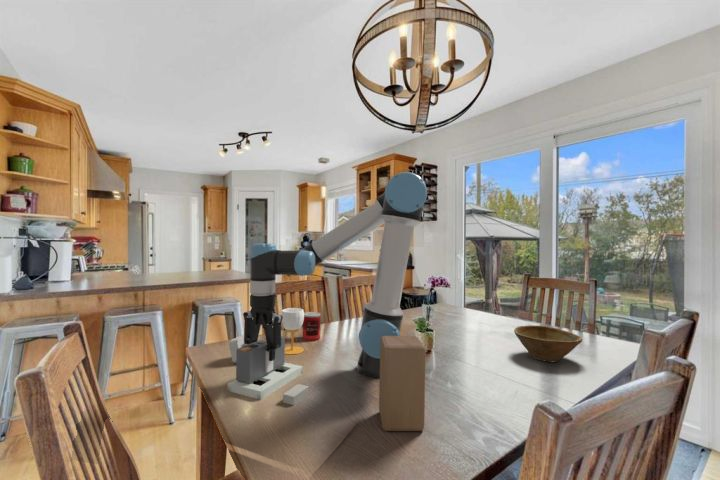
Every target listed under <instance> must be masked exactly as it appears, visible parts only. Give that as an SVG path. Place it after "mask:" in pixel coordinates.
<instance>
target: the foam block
mask: <svg viewBox="0 0 720 480" xmlns="http://www.w3.org/2000/svg"><path fill="white" fill-rule="evenodd" d="M309 388H310V387H309V386H308V385H304V384H300V383H297V384H296V385H294V386H292V387H291V388H290V389H288V390H287V391H285V392H284V393H283V394H282V403H284V404H288V405H291V406H295V405H297V404H298V403H299V402H300V401H302V400H303V399H304V398H306V397H308V395H309V394H310V393H309V390H310V389H309Z"/></svg>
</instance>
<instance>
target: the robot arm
mask: <svg viewBox="0 0 720 480" xmlns="http://www.w3.org/2000/svg"><path fill="white" fill-rule="evenodd" d="M427 196H428V189H427V186H426V183H425V181H424V179H422V177H421V176H420V175H418V174H416V173H414V172H409V171H401V172H400V173H396V174H395V175H393V176H392V177H391V178H390V179H389V180H388V182H387V183H386V185H385V190H384V192H383V193H382V194H381V195H379V196H378V197H377V198H375V199H374V203H373V204H371V205H370V206H368V207H366V208H365V209H363V210H362V211H360V212H358V213H356V214H355V215H353V216H352V217H351V218H349V219H347V220H346V221H344V222H343V223H340V224H339V225H337V226H336V227H334V228H333V229H331V230H330V231H328V232H327V233H325V234H323V235H322V236H320V237H318V238H317V239H315V241H312V242H311V243H309V244H307V245H306V246H305V247H303V248H301V249H297V250H279V249H277V245H276V244H275V243H254V244H252V245H251V248H250V257H249V260H250V262H249V263H250V265H249V266H250V270H249V271H250V273H249V274H250V279H249V280H250V281H249V292H250V295H249V307H251V308H250V310H248V311H245V312H243V313H242V315H243V320H244V323H243V324H244V325H243V326H244V328H243V335H244V344H251V343H254V342H256V341H259V340H258V339H259V335H260V330H261V326H262V329H263V330H264V335H265V338H266V341H267V347H268V349H267V350H266V368H265V372H269V371H271V370H273V360H275V349H277V348H279V347H281V336H282V318H283V316H282V315H281V314H279V315H278V314H277V313H276V311H275V306H276V294H275V292H276V276H277V275H278V276H280V275H281V276H282V275H284V276H300V277H303V276H311V275H313V274H314V272H315V270H316V267H317V266H318V265H320V264H322V263H323V262H325V261H326V260H328V259H329V258H331V257H333V256H335V254H337V253H339V252H341V251H342V250H344V249H345V248H347V247H349V246H350V245H352V244H354V243H355V242H357V241H359V240H360V239H361V238H363V237H365V236H367V235H368V234H370V233H371V232H373V231H375V230H377V229H378V228H379V227H381V226H383V225H384V227H383V228H384V229H383V234H382V239H381V245H380V249H379V250H380V251H379V255H378V260H377V261H378V262H377V265H376V266H377V267H376V272H375V279H374V285H373V289H372V294H371V298H370V299H371V300H370V301H369V302H366V303H365V304H364V305H363V309H362V313H363V315H362V321H361V326H360V330H359V333H358V340H359V344H360V347H361V352H360V353H359V358H358V361H357V368H356V369H357V370H356V371H357V373H358V374H359V375H364V376H366V377H371V378H375V379H376V378H379V379H380V339H381V337H382V336H401V328H402V324H403V319H404V318H403V317H404V312H403V310H402V308H401V306H400V305H401V300H402V295H403V289H404V285H405V278H406V273H407V266H408V261H409V257H410V251H411V246H412V245H411V244H412V241H413V240H412V239H413V235H414V229H415V227H416V226H417V225H419V224H420V223H421V220H422V213H423V209H424V205H425V203H426V201H427Z"/></svg>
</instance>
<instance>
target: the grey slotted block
mask: <svg viewBox="0 0 720 480" xmlns="http://www.w3.org/2000/svg"><path fill="white" fill-rule="evenodd" d="M285 339H286V337H285V336H282V335H281V347H279V348H277V349H275V360H273V370H271V371H269V372H265V368H266V350H267V349H268V347H267V341H266V337H263V338H261V339H259V340H257V341H256V342H254V343H251V344H248V345H246V346H243V347H241V348H238V349H237V353H236V363H235V365H236V370H235V379H236V380H237V381H241V382H245V383H249V384H250V383H251V384H254V382H256V381H255V380H257V379H259V378H261V377H262V376H264V375H266V374H268V373H270V372H272V371H276V370H277V368H279V367H281V366H282V365H284V363H285V355H286V354H285V347H286V343H285V341H286V340H285Z"/></svg>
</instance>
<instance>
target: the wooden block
mask: <svg viewBox="0 0 720 480" xmlns="http://www.w3.org/2000/svg"><path fill="white" fill-rule="evenodd" d="M426 352H427V351H426V347H425V346H424V344H423V343H422V341H421V340H420V338H419V337H418V336H416V335H400V336H382V337H381V339H380V378H379V384H378V385H379V386H378V387H379V388H378V389H379V393H378V394H379V395H378V397H379V398H378V399H379V400H378V410H379V417H380V421H381V427H382V429H383V431H386V432H422V431H423V430H424V429H425V413H426V412H425V411H426V410H425V408H426V406H425V405H426V362H427V360H426V358H427V357H426V356H427V353H426Z"/></svg>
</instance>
